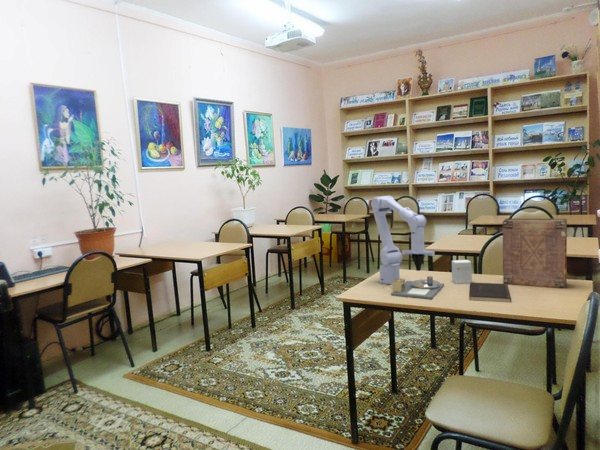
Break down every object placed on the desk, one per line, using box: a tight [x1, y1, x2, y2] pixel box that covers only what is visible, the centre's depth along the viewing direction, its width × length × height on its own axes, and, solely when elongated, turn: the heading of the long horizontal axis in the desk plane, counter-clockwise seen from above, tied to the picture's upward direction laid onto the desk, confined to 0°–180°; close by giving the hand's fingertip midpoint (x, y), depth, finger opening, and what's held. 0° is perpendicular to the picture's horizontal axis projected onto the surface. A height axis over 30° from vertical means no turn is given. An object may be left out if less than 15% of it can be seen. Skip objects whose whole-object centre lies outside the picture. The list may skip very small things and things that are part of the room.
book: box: [502, 218, 568, 290], centre depth 195 cm, size 25×9×30 cm, turn 58°
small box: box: [451, 259, 473, 285], centre depth 207 cm, size 8×6×10 cm
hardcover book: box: [468, 281, 512, 303], centre depth 186 cm, size 16×23×2 cm
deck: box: [390, 280, 445, 300], centre depth 197 cm, size 18×24×1 cm
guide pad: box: [407, 288, 430, 296], centre depth 191 cm, size 8×9×1 cm
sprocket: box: [411, 275, 440, 289], centre depth 200 cm, size 13×13×5 cm
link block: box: [391, 278, 406, 293], centre depth 195 cm, size 4×6×5 cm, turn 149°
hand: (418, 270), depth 197 cm, fingers closed
